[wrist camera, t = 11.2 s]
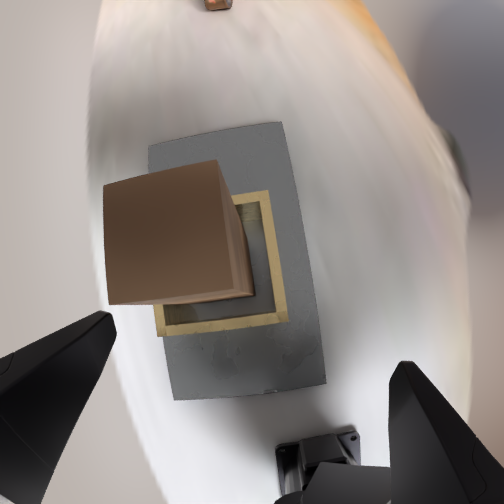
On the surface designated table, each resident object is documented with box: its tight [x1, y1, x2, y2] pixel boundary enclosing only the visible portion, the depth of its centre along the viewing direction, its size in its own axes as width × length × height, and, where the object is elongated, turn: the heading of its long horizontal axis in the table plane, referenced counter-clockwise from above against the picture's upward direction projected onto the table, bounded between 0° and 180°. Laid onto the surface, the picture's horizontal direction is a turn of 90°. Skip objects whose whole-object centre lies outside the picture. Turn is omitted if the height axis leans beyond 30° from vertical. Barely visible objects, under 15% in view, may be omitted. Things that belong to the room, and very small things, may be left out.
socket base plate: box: [149, 122, 326, 400], centre depth 20 cm, size 20×11×5 cm, turn 8°
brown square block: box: [103, 159, 256, 305], centre depth 15 cm, size 4×4×12 cm
